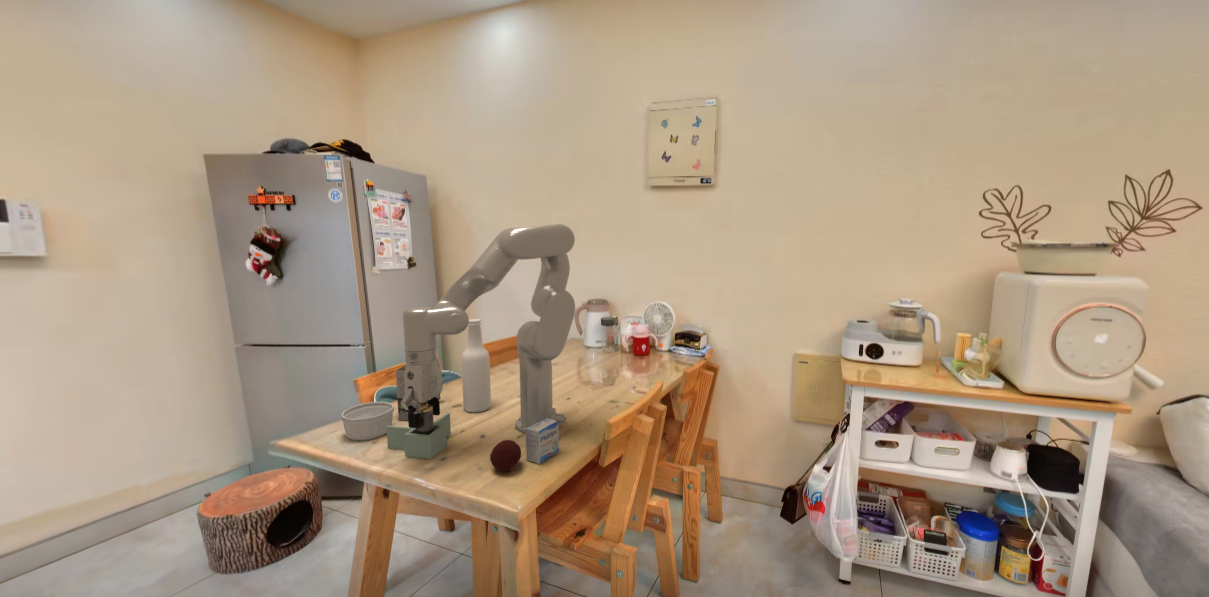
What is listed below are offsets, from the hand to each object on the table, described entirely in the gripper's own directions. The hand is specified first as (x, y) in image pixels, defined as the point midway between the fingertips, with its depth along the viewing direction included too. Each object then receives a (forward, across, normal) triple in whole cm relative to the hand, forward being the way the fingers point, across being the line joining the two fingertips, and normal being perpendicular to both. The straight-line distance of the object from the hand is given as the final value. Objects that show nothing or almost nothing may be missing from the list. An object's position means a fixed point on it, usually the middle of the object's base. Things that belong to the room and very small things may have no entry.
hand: (424, 420), depth 112 cm
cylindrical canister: (+8, 0, 0) cm, 8 cm away
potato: (+9, -4, -24) cm, 26 cm away
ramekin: (+9, +7, +23) cm, 26 cm away
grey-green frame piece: (+8, +4, +4) cm, 10 cm away
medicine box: (+9, +3, -31) cm, 32 cm away
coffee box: (+9, +21, +18) cm, 29 cm away
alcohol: (+9, +30, +1) cm, 31 cm away
